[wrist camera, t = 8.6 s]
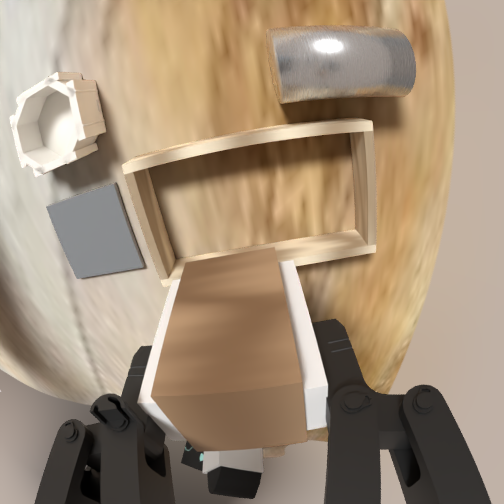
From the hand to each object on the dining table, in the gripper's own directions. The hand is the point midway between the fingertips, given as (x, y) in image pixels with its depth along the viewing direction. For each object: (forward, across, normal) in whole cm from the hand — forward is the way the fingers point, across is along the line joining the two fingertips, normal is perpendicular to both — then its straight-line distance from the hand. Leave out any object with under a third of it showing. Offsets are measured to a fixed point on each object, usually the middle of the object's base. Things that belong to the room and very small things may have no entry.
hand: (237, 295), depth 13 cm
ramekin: (+14, -14, +11) cm, 23 cm away
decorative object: (+15, -13, -41) cm, 46 cm away
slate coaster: (+14, -16, 0) cm, 21 cm away
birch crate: (+14, +2, 0) cm, 14 cm away
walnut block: (0, 0, 0) cm, 0 cm away
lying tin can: (+14, +10, +10) cm, 20 cm away
